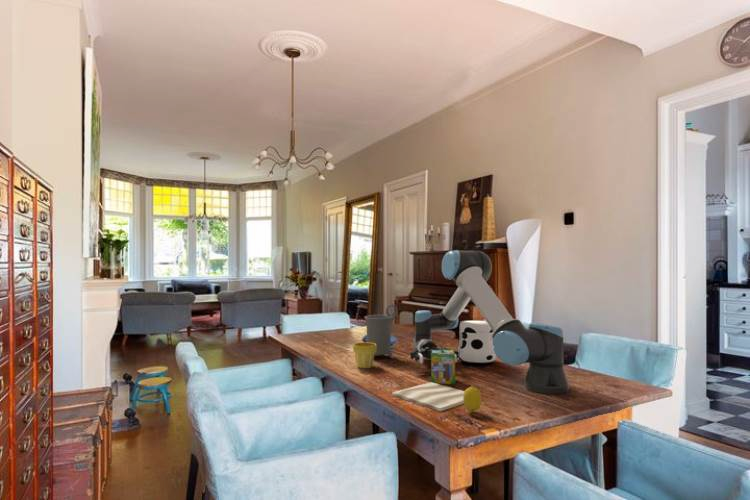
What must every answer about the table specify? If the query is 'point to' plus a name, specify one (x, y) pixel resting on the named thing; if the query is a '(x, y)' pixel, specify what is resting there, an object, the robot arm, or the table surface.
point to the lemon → (472, 398)
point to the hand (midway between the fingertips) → (439, 359)
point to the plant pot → (364, 354)
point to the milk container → (476, 343)
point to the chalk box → (443, 366)
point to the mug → (380, 331)
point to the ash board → (432, 396)
